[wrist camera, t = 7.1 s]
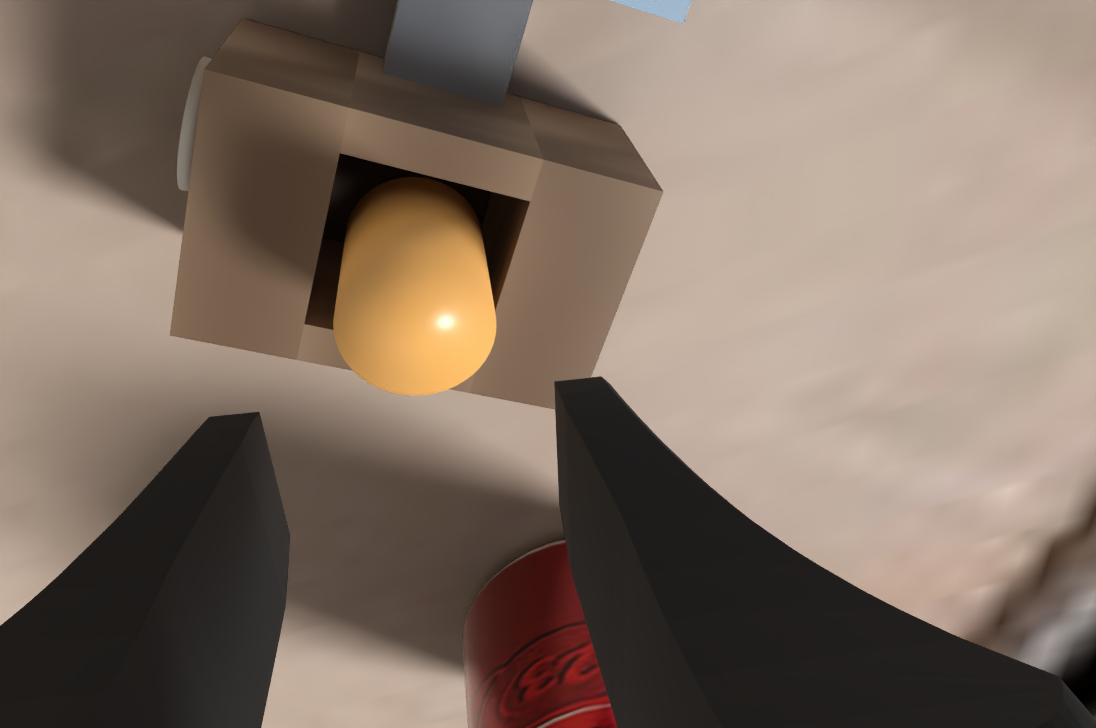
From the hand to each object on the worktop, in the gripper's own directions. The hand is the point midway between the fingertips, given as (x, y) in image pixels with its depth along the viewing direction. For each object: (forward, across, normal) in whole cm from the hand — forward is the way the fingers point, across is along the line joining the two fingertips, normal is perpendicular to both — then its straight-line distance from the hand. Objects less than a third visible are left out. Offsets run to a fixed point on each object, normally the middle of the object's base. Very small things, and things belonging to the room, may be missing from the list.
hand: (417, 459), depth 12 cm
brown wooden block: (+10, 0, 0) cm, 10 cm away
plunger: (+7, 0, 0) cm, 7 cm away
